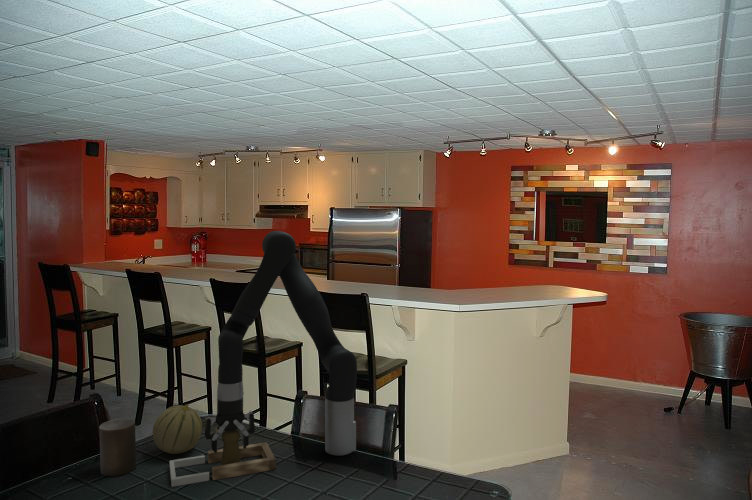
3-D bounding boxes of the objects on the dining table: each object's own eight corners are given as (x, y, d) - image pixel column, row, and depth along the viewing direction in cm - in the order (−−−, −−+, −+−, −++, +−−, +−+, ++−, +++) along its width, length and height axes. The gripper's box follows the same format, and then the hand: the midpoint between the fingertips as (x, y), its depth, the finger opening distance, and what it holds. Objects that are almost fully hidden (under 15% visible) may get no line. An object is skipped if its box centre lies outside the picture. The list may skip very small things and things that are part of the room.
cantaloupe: (146, 450, 174) (145, 404, 173) (190, 438, 184) (190, 395, 183) (164, 466, 163) (163, 417, 162) (210, 452, 173) (209, 406, 172)
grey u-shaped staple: (204, 461, 167) (204, 455, 167) (209, 480, 155) (209, 473, 155) (169, 467, 163) (169, 460, 163) (171, 486, 151) (171, 479, 151)
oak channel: (266, 451, 174) (266, 442, 174) (275, 469, 162) (275, 459, 162) (207, 460, 167) (207, 451, 167) (212, 480, 155) (212, 469, 155)
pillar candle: (142, 468, 162) (141, 419, 161) (107, 480, 154) (106, 427, 154) (128, 459, 168) (127, 411, 168) (94, 469, 161) (93, 419, 160)
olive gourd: (235, 472, 160) (235, 435, 159) (216, 470, 161) (216, 433, 160) (244, 463, 166) (244, 427, 165) (226, 461, 167) (226, 426, 166)
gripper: (252, 389, 168) (251, 441, 169) (203, 394, 163) (203, 448, 164) (256, 397, 162) (256, 450, 162) (206, 402, 156) (206, 458, 157)
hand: (229, 449), depth 163 cm, fingers open, 8 cm apart
